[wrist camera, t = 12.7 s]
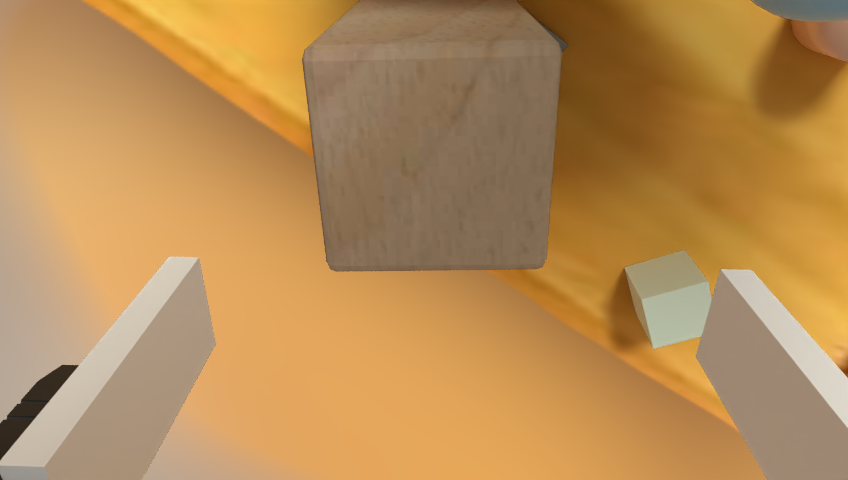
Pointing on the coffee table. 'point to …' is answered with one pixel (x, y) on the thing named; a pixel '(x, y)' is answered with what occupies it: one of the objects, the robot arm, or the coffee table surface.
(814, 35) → the pale pink rounded piece
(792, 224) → the coffee table surface
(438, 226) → the wooden block
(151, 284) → the robot arm
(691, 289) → the sage cube
